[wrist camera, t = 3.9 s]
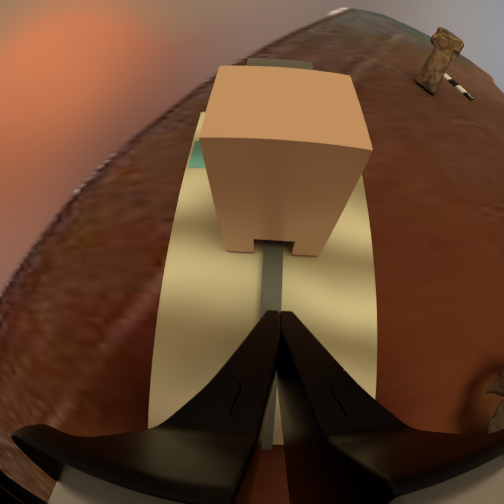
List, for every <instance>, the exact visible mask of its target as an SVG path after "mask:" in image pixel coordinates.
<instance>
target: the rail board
mask: <svg viewBox="0 0 504 504" xmlns="http://www.w3.org/2000/svg"><path fill="white" fill-rule="evenodd" d="M247 66H267V67H284V68H297V69H307V70H313V65H312V62H304V61H293V60H280V59H259V58H248V61H247ZM205 113H206V112H201V115H200V118H199V122H198V125H197V129H196V132H195V136H194V139H193V143H192V147H191V150H190V154H189V158H188V162H187V166H186V170H185V174H184V178H183V182H182V186H181V191H180V195H179V199H178V204H177V208H176V213H175V218H174V222H173V227H172V232H171V237H170V243H169V248H168V253H167V259H166V264H165V270H164V276H163V282H162V289H161V295H160V302H159V309H158V317H157V324H156V333H155V341H154V350H153V360H152V371H151V383H150V397H149V415H148V429H150V428H153V427H155V426H157V425H159V424H161V423H162V422H164V421H165V420H167V419H168V418H169V417H170V416H172V415H173V414H174V413H175V412H176V411H178V410H179V409H180V408H181V407H182V406H184V405H185V404H186V403H187V402H188V401H189V400H190V399H192V398H193V397H194V396H195V395H196V394H197V393H198V392H199V391H201V390H202V389H203V388H204V387H205V386H206V385H207V384H208V383H209V382H210V381H211V379H212V378H213V377H214V376H215V375H216V374H217V373H218V371H219V370H220V369H221V368H222V367H223V366H224V364H225V363H226V362H227V360H228V359H229V358H230V357H231V355H232V354H233V353H234V352H235V350H236V349H237V348H238V347H239V345H240V344H241V343H242V341H243V340H244V339H245V338H246V336H247V335H248V334H249V333H250V331H251V330H252V329H253V327H254V326H255V325H256V323H257V322H258V321H259V320H260V318H261V317H262V316H263V314H264V313H265V312H266V311H267V310H277V311H279V313H280V311H292V312H293V313H294V314H295V315H296V316H297V317H298V318H299V319H300V320H301V322H302V323H303V324H304V325H305V326H306V327H307V328H308V329H309V331H310V332H311V333H312V334H313V335H314V336H315V337H316V338H317V339H318V341H319V342H320V343H321V344H322V345H323V346H324V347H325V348H326V349H327V351H328V352H329V353H330V354H331V355H332V356H333V357H334V358H335V359H336V361H337V362H338V363H339V364H340V365H341V366H342V367H343V368H344V370H346V371H347V373H348V374H349V375H350V376H351V377H352V378H353V379H354V380H355V381H356V382H357V383H358V384H359V385H360V386H361V387H362V388H363V389H364V390H365V391H366V392H367V393H368V394H369V395H371V396H372V397H373V398H374V399H375V394H376V374H377V309H376V288H375V273H374V261H373V250H372V241H371V232H370V224H369V216H368V209H367V203H366V196H365V190H364V184H363V178H362V174H361V176H360V178H359V180H358V182H357V184H356V186H355V188H354V190H353V192H352V194H351V196H350V198H349V200H348V202H347V204H346V206H345V208H344V210H343V212H342V214H341V216H340V218H339V220H338V222H337V224H336V226H335V227H334V229H333V231H332V233H331V235H330V237H329V239H328V241H327V242H326V244H325V246H324V248H323V250H322V252H321V253H320V255H319V256H308V255H291V250H292V241H278V240H261V239H255V241H254V252H238V251H225V247H224V243H223V239H222V235H221V230H220V226H219V222H218V218H217V214H216V210H215V206H214V202H213V197H212V193H211V189H210V185H209V180H208V176H207V172H206V167H205V163H204V159H203V154H202V150H201V145H200V141H199V135H200V131H201V127H202V124H203V120H204V117H205ZM273 444H274V445H284V443H283V434H282V425H281V416H280V407H279V398H278V389H277V380H276V375H275V382H274V387H273V393H272V398H271V403H270V409H269V414H268V419H267V424H266V429H265V434H264V439H263V443H262V448H261V450H272V445H273Z"/></svg>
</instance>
